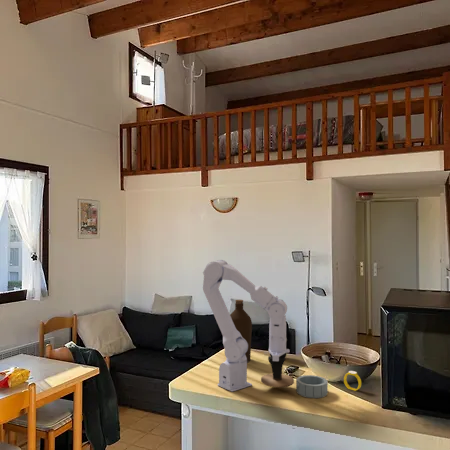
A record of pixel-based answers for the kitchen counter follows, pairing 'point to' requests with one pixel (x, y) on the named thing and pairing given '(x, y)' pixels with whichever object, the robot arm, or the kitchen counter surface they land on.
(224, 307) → the robot arm
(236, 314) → the olive oil
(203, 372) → the kitchen counter surface
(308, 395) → the bowl
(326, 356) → the lighter
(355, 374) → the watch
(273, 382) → the lid
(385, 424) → the kitchen counter surface
